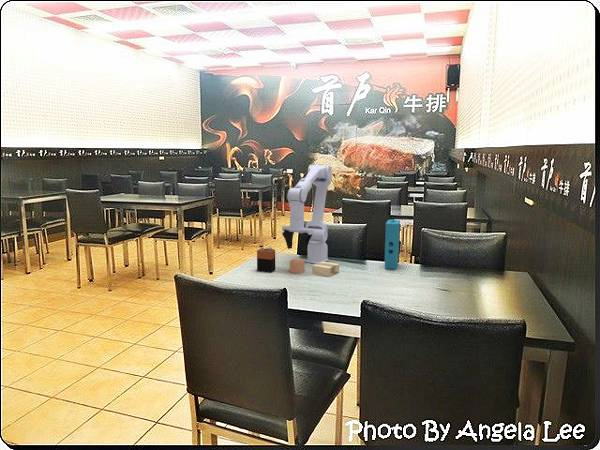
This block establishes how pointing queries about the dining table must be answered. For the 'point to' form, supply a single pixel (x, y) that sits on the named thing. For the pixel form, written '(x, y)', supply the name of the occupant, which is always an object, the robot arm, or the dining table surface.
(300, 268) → the terracotta block
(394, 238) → the block
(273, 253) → the battery
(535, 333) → the dining table surface
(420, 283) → the dining table surface
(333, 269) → the maple block
